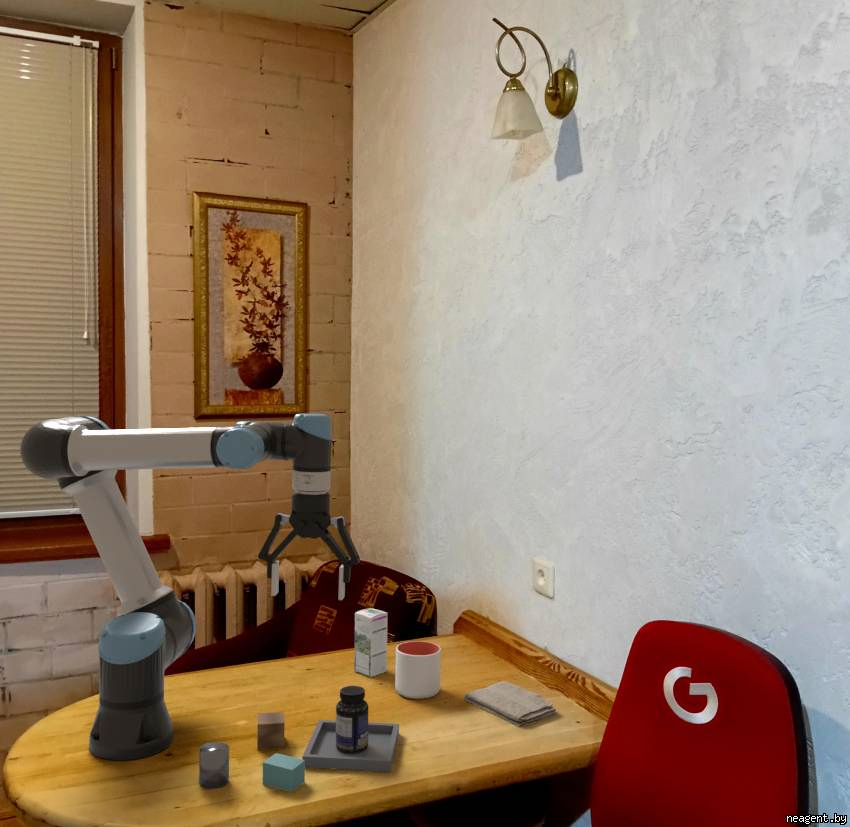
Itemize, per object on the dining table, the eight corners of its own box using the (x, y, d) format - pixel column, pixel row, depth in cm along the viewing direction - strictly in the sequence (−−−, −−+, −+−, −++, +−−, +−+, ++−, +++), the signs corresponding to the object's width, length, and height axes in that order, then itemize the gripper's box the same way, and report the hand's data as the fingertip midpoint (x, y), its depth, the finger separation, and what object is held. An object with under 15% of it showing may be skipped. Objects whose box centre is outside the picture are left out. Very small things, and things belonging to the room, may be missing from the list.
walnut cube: (257, 750, 162) (257, 724, 162) (257, 738, 167) (257, 713, 167) (284, 748, 163) (284, 722, 163) (283, 737, 168) (283, 712, 168)
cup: (435, 703, 186) (436, 657, 186) (390, 698, 188) (391, 653, 188) (443, 686, 196) (444, 643, 195) (400, 682, 198) (401, 639, 197)
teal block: (262, 784, 149) (262, 762, 149) (275, 775, 153) (276, 753, 152) (291, 792, 147) (292, 770, 146) (304, 782, 150) (304, 760, 150)
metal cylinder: (195, 788, 147) (195, 753, 147) (204, 774, 152) (204, 741, 152) (223, 789, 147) (224, 755, 146) (232, 775, 152) (232, 742, 151)
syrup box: (387, 671, 204) (389, 611, 203) (370, 678, 200) (371, 616, 199) (370, 665, 208) (371, 606, 207) (352, 672, 204) (354, 611, 203)
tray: (302, 767, 155) (302, 756, 155) (318, 729, 171) (319, 719, 171) (390, 772, 154) (390, 761, 154) (399, 733, 170) (399, 723, 170)
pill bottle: (363, 738, 167) (364, 682, 166) (371, 752, 161) (372, 694, 160) (332, 742, 165) (332, 685, 164) (339, 756, 159) (340, 697, 158)
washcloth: (521, 731, 174) (521, 716, 174) (461, 702, 188) (461, 689, 188) (560, 716, 182) (560, 702, 182) (499, 690, 196) (500, 677, 195)
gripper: (244, 490, 169) (241, 597, 170) (370, 497, 167) (366, 605, 168) (255, 485, 176) (252, 587, 178) (375, 491, 174) (372, 595, 176)
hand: (308, 596), depth 173 cm, fingers open, 13 cm apart
